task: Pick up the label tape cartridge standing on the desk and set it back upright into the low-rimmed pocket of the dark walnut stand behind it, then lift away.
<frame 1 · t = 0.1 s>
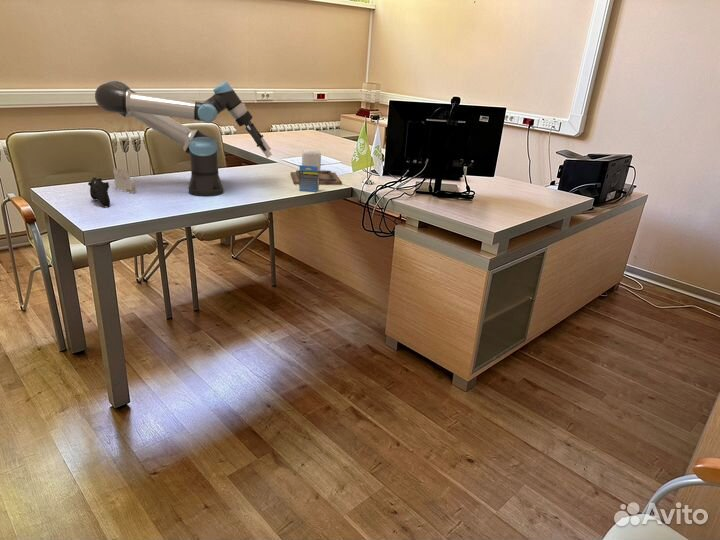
hand: (269, 153, 241), 15 cm above the table, tool tilted 35°, fingers open, 13 cm apart
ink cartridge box: (126, 191, 223), on the table
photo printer: (311, 172, 279), on the table
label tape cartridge: (308, 191, 242), on the table
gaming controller: (100, 203, 204), on the table
stand: (315, 179, 263), on the table
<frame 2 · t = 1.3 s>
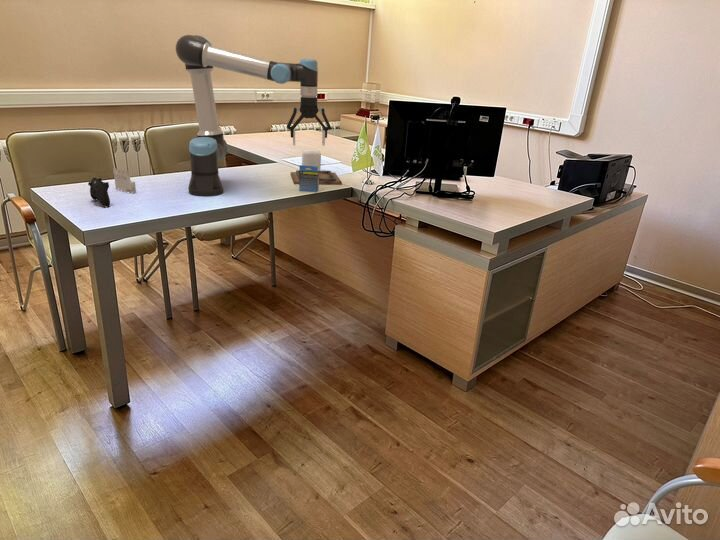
hand: (308, 145, 234), 21 cm above the table, tool pointing down, fingers open, 13 cm apart
nothing on the table moved.
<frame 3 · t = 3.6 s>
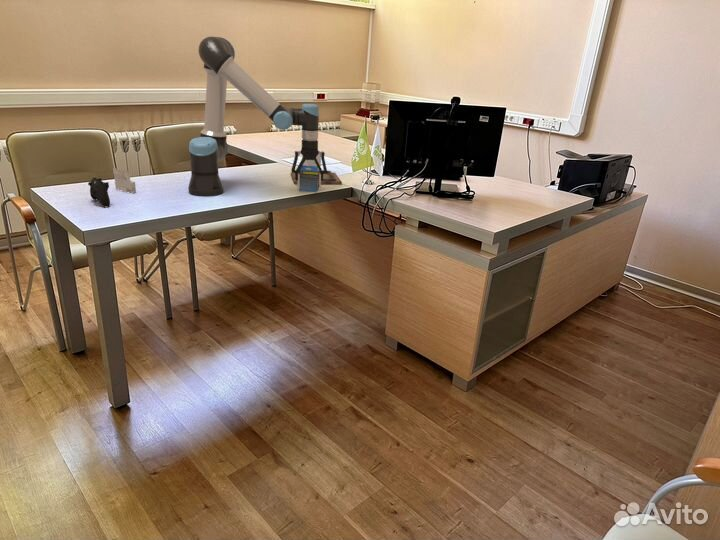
hand: (309, 187, 241), 2 cm above the table, tool pointing down, fingers closed on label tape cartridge, 9 cm apart
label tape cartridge: (308, 191, 242), on the table, touching gripper
everything else where it was.
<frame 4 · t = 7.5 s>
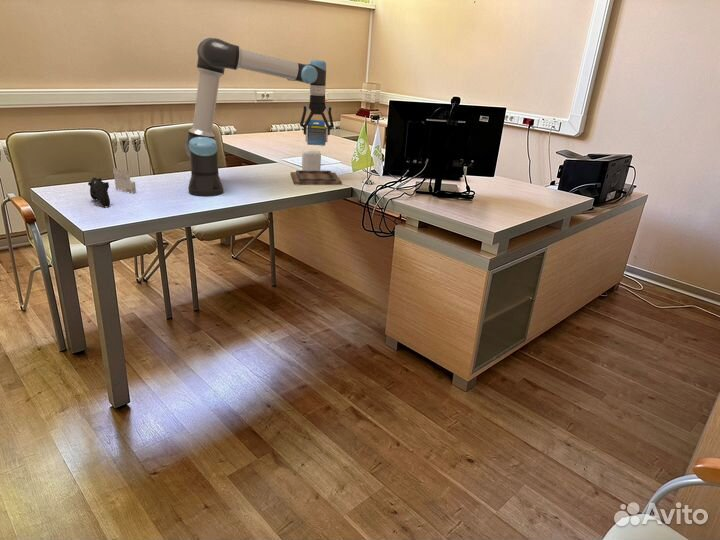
hand: (316, 141, 255), 20 cm above the table, tool pointing down, fingers closed on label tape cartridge, 9 cm apart
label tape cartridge: (316, 145, 255), point 18 cm above the table, touching gripper
everything else where it was.
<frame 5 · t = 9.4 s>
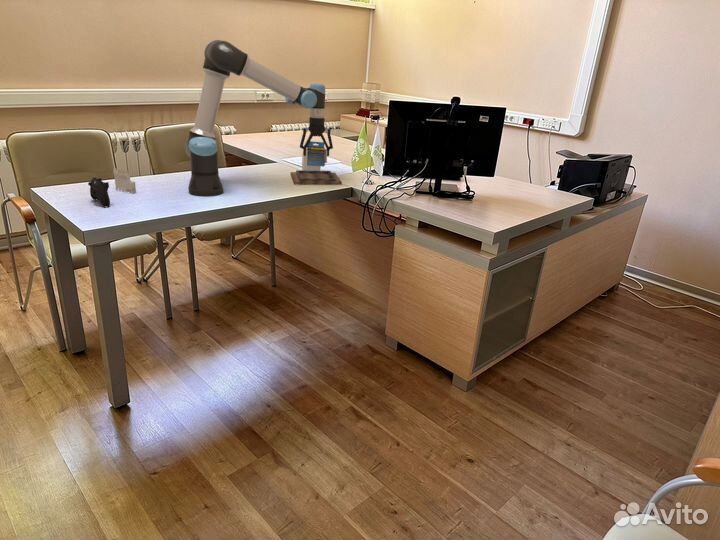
hand: (316, 162, 259), 9 cm above the table, tool pointing down, fingers closed on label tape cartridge, 9 cm apart
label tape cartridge: (316, 165, 260), point 7 cm above the table, touching gripper
everything else where it was.
when the fingers open (4 cm above the table, at t = 11.3 s): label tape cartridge drops 1 cm, resting on stand.
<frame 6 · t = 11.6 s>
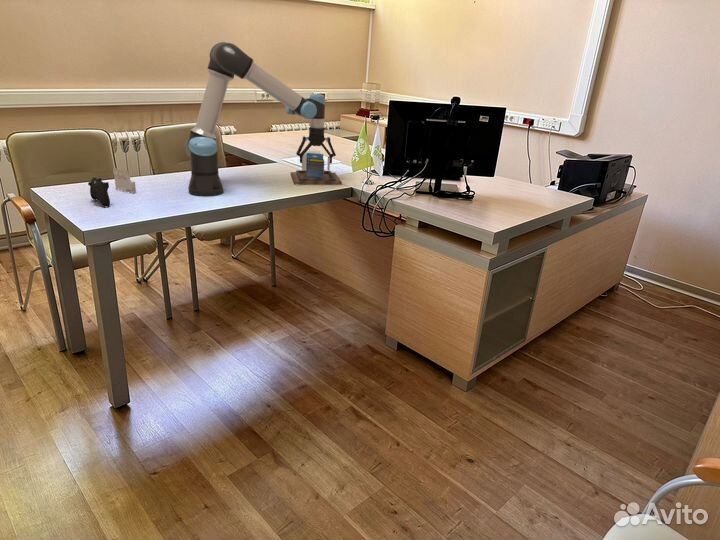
hand: (315, 169, 261), 5 cm above the table, tool pointing down, fingers open, 13 cm apart
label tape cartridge: (315, 177, 262), point 1 cm above the table, touching stand
everything else where it was.
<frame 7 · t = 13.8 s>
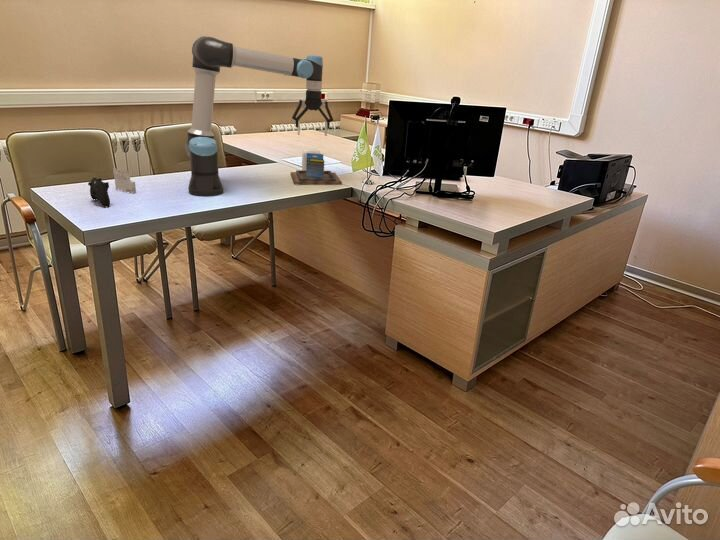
hand: (312, 135, 252), 23 cm above the table, tool pointing down, fingers open, 13 cm apart
nothing on the table moved.
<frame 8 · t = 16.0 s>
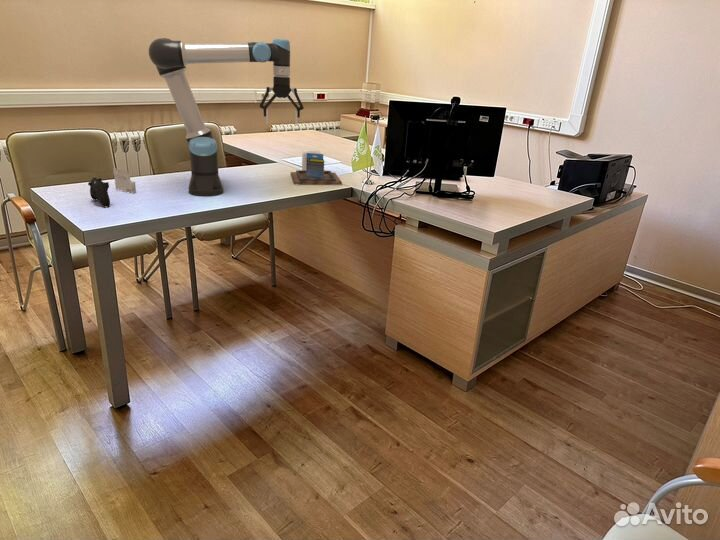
hand: (281, 124, 239), 29 cm above the table, tool pointing down, fingers open, 13 cm apart
nothing on the table moved.
at the end: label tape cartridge inside the target area on the stand (0.2 cm from its centre), point 1.3 cm above the stand's base; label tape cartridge tilted 0°; the gripper is holding nothing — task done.
